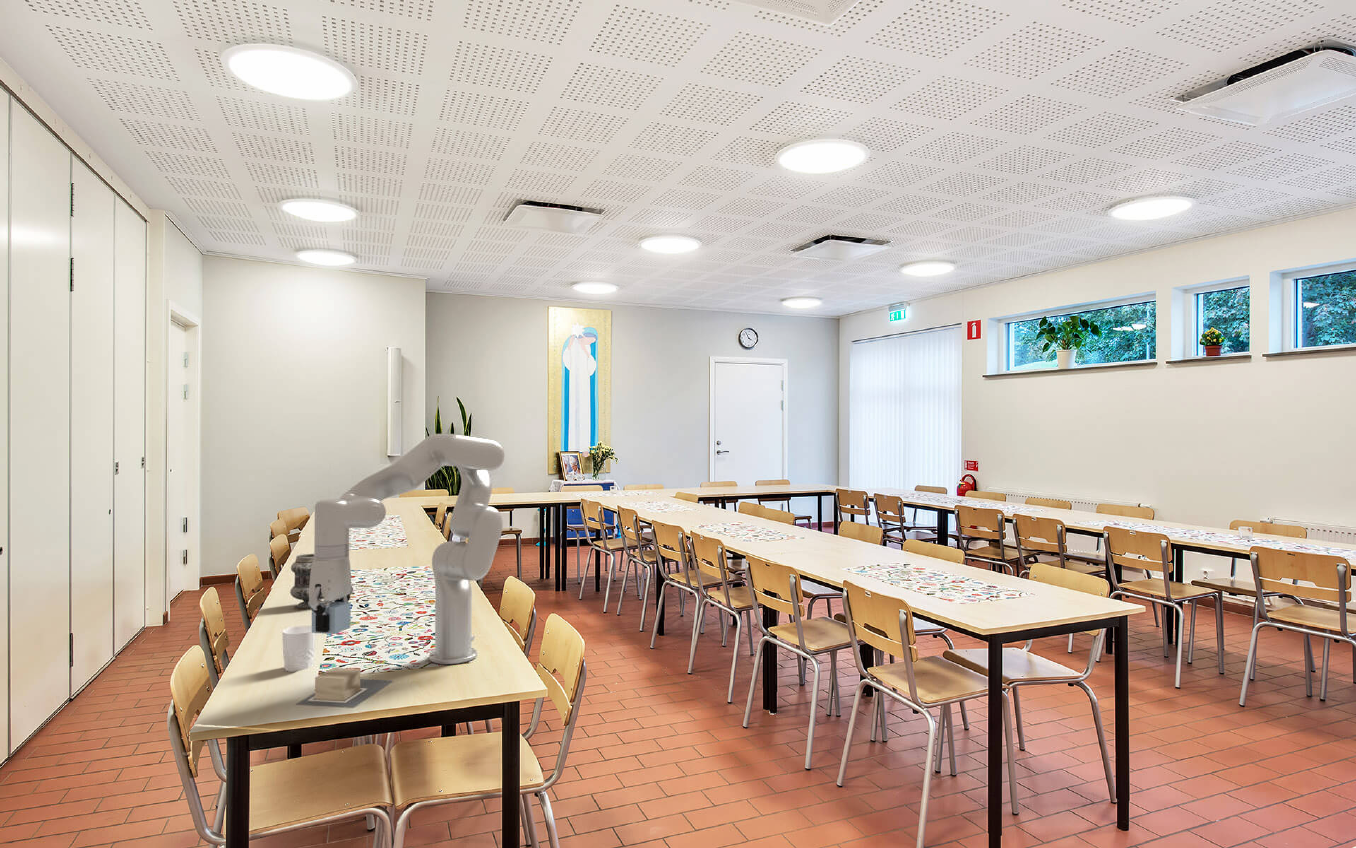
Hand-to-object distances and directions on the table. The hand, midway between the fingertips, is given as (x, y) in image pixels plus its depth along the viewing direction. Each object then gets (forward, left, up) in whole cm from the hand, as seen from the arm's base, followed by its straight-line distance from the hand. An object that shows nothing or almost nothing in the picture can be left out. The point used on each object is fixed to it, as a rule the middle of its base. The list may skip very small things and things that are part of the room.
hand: (331, 627), depth 179 cm
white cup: (-16, -19, -16) cm, 29 cm away
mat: (0, +4, -15) cm, 16 cm away
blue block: (0, 0, -1) cm, 1 cm away
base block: (+2, +3, -15) cm, 16 cm away
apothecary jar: (-78, -57, -16) cm, 98 cm away
